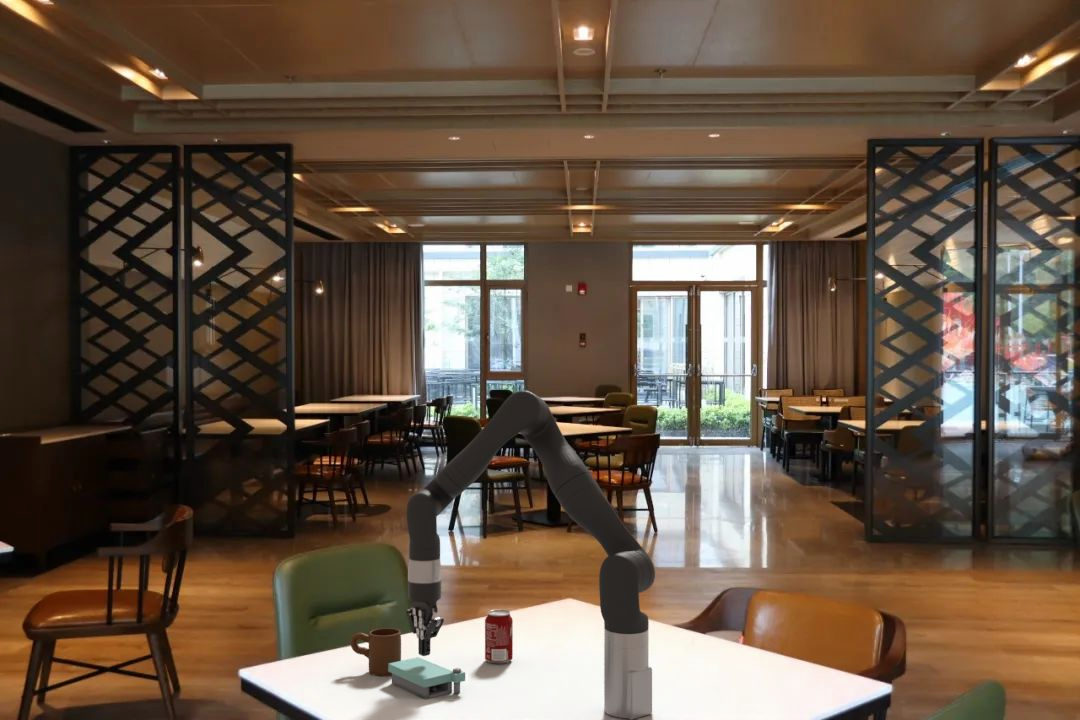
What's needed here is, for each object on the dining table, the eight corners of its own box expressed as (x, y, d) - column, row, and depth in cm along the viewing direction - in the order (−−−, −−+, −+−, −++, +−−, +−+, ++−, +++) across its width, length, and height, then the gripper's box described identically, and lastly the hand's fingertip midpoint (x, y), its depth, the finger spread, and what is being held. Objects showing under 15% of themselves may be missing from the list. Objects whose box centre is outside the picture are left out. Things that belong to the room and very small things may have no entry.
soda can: (509, 666, 233) (509, 616, 233) (482, 664, 234) (482, 615, 235) (514, 658, 240) (514, 609, 240) (488, 656, 241) (488, 608, 241)
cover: (465, 680, 213) (465, 669, 213) (428, 689, 207) (428, 678, 207) (423, 663, 226) (424, 653, 226) (388, 671, 220) (388, 660, 220)
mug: (346, 676, 225) (347, 636, 225) (353, 666, 233) (353, 627, 233) (398, 676, 225) (398, 636, 225) (403, 667, 232) (403, 627, 233)
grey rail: (461, 692, 213) (461, 681, 213) (428, 701, 208) (428, 689, 208) (423, 676, 225) (423, 665, 225) (391, 683, 220) (391, 672, 220)
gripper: (454, 581, 217) (454, 658, 217) (423, 571, 227) (422, 645, 227) (426, 585, 212) (425, 664, 212) (395, 575, 222) (395, 651, 222)
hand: (424, 654), depth 219 cm, fingers closed
